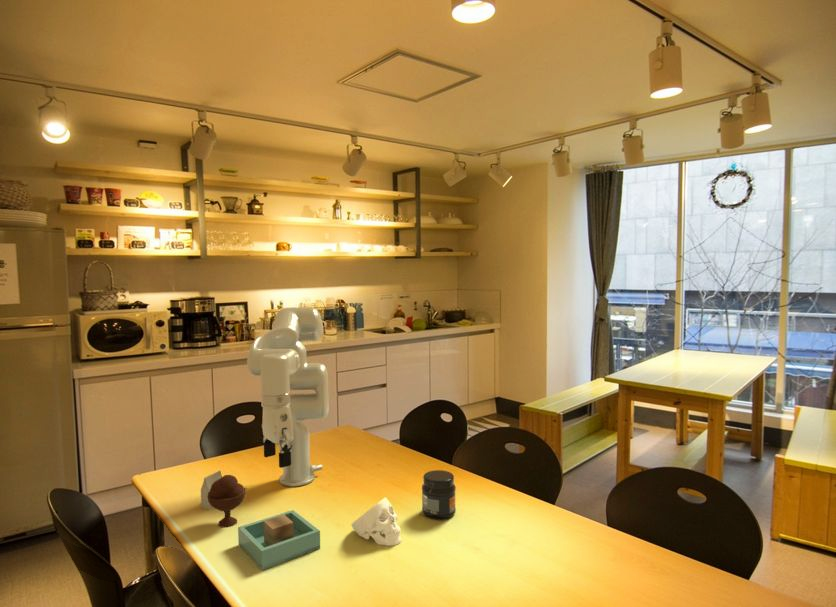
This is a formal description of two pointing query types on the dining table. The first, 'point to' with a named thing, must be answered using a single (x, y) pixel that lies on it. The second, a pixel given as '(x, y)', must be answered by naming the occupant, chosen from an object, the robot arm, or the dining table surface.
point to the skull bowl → (379, 524)
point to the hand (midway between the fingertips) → (277, 461)
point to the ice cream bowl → (226, 497)
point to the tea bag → (208, 489)
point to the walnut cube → (278, 530)
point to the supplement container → (438, 495)
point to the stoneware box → (283, 551)
